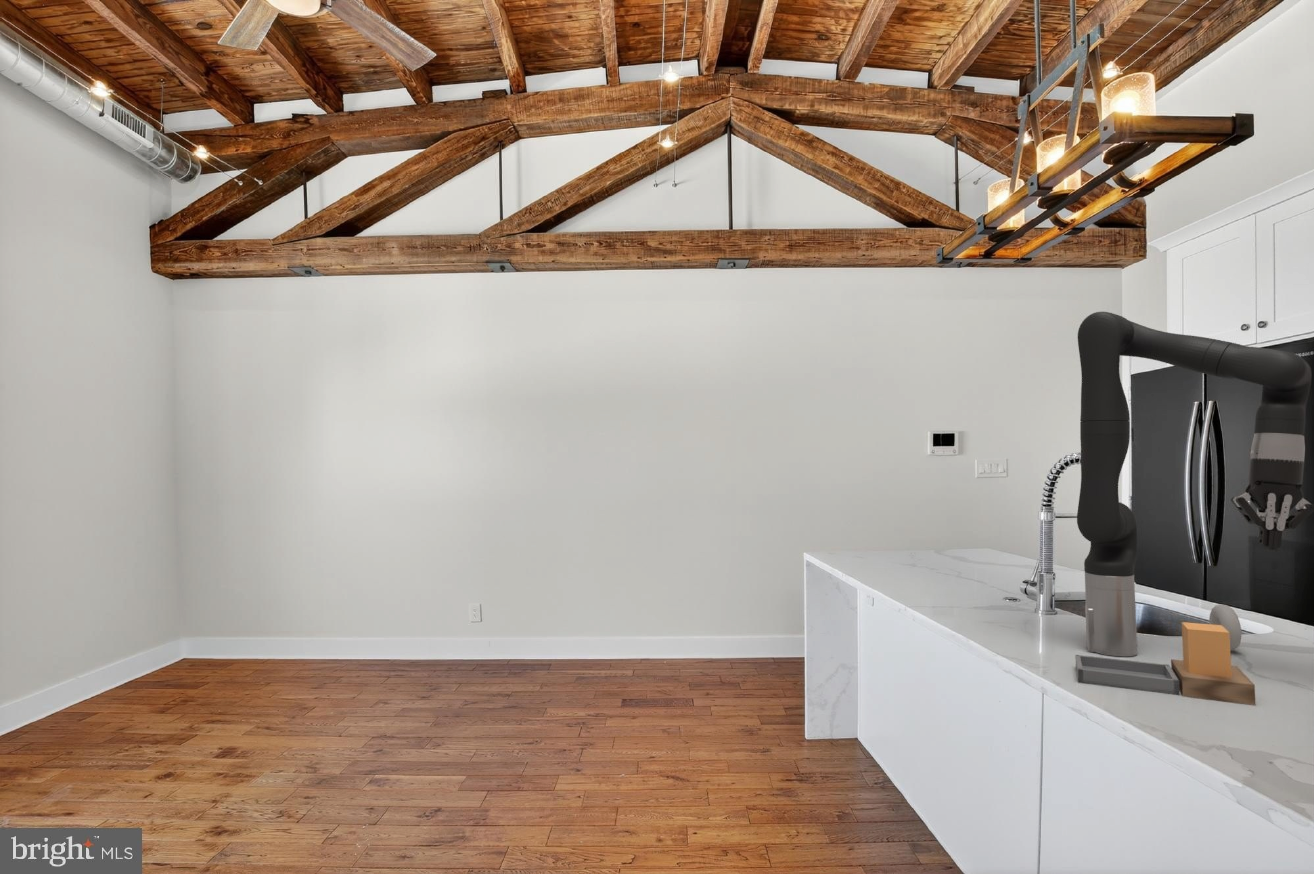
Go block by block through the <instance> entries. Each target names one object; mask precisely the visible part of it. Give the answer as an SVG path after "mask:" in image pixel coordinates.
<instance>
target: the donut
mask: <svg viewBox="0 0 1314 874" xmlns="http://www.w3.org/2000/svg"><path fill="white" fill-rule="evenodd" d="M1208 621H1209V623H1208V624H1211V625H1222V626H1223V627H1224V628H1225V629H1226V630H1227V631H1228V632H1229V633H1230V652H1232V651H1235V650H1236V649H1238V648H1239V647H1240V645H1241V642H1242V627H1241V623H1240V619H1239V616H1238V614H1237V613H1236V612H1235V610H1234V609H1233V608H1232V607H1231V606H1230V605H1227V604H1222V603H1220V604H1219V603H1218V604H1216V605H1214V606H1213V607H1212V608H1211V610H1210V614H1209V620H1208Z"/></svg>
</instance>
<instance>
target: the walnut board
mask: <svg viewBox="0 0 1314 874" xmlns="http://www.w3.org/2000/svg"><path fill="white" fill-rule="evenodd" d="M1170 667H1171V669H1172V670H1173V672H1174V673H1175V675H1176V677H1177V678H1178V680H1179V687H1180V695H1182V697H1185V696H1186V698H1193V699H1201V700H1202V699H1203V700H1210V701H1217V702H1218V701H1219V702H1228V703H1235V704H1243V705H1248V706H1249V705H1251V706H1256V686H1255V685H1256V684H1254V683H1253V682H1252V680H1250V678H1249V677H1248V676H1247V675H1246V674H1245V673H1244V672H1243V670H1241V669H1240V667H1238V665H1231V674H1232V678H1229V677H1220V676H1211V675H1202V674H1193V673H1189V672H1188V670H1187V669H1186V667H1185V666H1184V664H1183V659H1181V660H1180V659H1173V658H1172V659H1170Z"/></svg>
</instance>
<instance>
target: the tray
mask: <svg viewBox="0 0 1314 874" xmlns="http://www.w3.org/2000/svg"><path fill="white" fill-rule="evenodd" d="M1074 658H1075V669H1076V675H1077V681H1078V684H1079V683H1080V684H1090V685H1095V686H1104V687H1111V688H1112V687H1113V688H1119V689H1127V690H1128V689H1129V690H1137V691H1145V692H1152V693H1160V694H1166V695H1167V694H1168V695H1169V694H1171V695H1175V694H1176V695H1177V696H1180V695H1181V692H1180V687H1179V680H1178V678H1177V677H1176V675H1175V673H1174V672H1173V670H1172V669H1171V664H1165V663H1156V662H1146V661H1139V660H1138V661H1136V660H1128V659H1127V660H1126V659H1120V658H1108V657H1103V656H1102V657H1100V656H1099V657H1098V656H1090V655H1089V656H1088V655H1080V654H1075V657H1074Z"/></svg>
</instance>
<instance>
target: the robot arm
mask: <svg viewBox="0 0 1314 874" xmlns="http://www.w3.org/2000/svg"><path fill="white" fill-rule="evenodd" d="M1077 345H1078V352H1079V361H1080V370H1081V371H1080V373H1081V387H1080V390H1081V391H1080V425H1079V426H1080V431H1079V433H1080V437H1079V438H1080V478H1081V479H1080V488H1079V498H1078V505H1077V514H1076V524H1077V528H1078V530H1079V532H1080V534H1081V535H1082V537H1084V539H1085V540H1087V541H1088V542H1090V547H1089V548H1090V549H1089V553H1088V554H1087V556H1086V558H1085V559H1084V562H1083V563H1084V567H1083V568H1084V570H1083V571H1084V589H1085V590H1084V591H1085V604H1084V606H1085V607H1084V610H1085V612H1084V613H1085V633H1086V634H1085V635H1086V647H1087V652H1091V653H1092V652H1093V653H1098V654H1101V655H1106V656H1113V657H1133V656H1137V655H1138V640H1137V638H1138V637H1137V615H1136V613H1137V612H1136V592H1135V591H1136V589H1135V588H1136V587H1135V585H1136V584H1135V565H1136V562H1137V559H1138V529H1137V528H1138V527H1137V520H1136V516H1135V514H1134V513H1133V512H1134V511H1132V509H1131V508H1130V507H1129V506H1127V504H1124V503H1123V502H1119V501H1120V500H1119V499H1120V498H1119V480H1120V476H1121V471H1122V469H1123V465H1124V463H1125V461H1126V457H1127V453H1128V452H1129V451H1128V450H1129V445H1130V439H1131V438H1130V437H1131V435H1130V434H1131V433H1130V432H1131V422H1130V418H1131V417H1130V410H1129V409H1130V408H1129V404H1128V400H1127V397H1126V395H1125V394H1126V393H1125V390H1124V387H1123V384H1122V380H1121V373H1120V362H1121V360H1120V359H1121V357H1135V358H1143V359H1147V360H1151V361H1152V360H1153V361H1158V362H1161V363H1165V364H1169V365H1172V366H1175V367H1177V368H1181V369H1185V370H1188V371H1193V372H1197V373H1201V374H1205V375H1209V376H1213V377H1217V378H1223V379H1228V380H1229V379H1231V380H1232V379H1237V380H1241V381H1245V382H1249V383H1253V384H1256V385H1260V386H1262V391H1261V400H1260V405H1259V406H1258V407H1257V410H1256V412H1255V413H1256V414H1255V421H1254V422H1255V423H1254V435H1253V439H1252V442H1251V447H1250V448H1251V449H1250V450H1251V451H1250V454H1249V456H1250V461H1249V473H1248V485H1247V487H1246V488H1245V490H1244V491H1245V492H1244V493H1242V494H1241V495H1239V496H1232V497H1231V498H1230V501H1231V503H1232V504H1233V505H1234V506H1235V508H1236V509H1237V510H1238V511H1239V513H1240V515H1242V517H1243V518H1244V519H1245V521H1246V522H1247V523H1248V524H1249V525H1253V526H1256V527H1258V529H1259V536H1258V546H1261V549H1263V550H1266V551H1267V550H1268V551H1278V548H1280V547H1281V546H1282V537H1283V531H1285V530H1289V529H1296V528H1297V527H1298V526H1299V525H1300V524H1302V522H1304V521H1305V520H1306V519H1307V518H1308V517H1310V515H1312V514H1313V513H1314V503H1310V502H1309V500H1306V499H1305V498H1304V492H1303V491H1302V485H1303V482H1304V481H1303V480H1304V479H1303V477H1304V467H1305V454H1306V453H1305V452H1306V444H1305V430H1306V407H1307V404H1308V399H1309V395H1310V390H1311V385H1312V368H1311V367H1310V365H1309V363H1308V362H1307V361H1306V360H1305V359H1304V358H1303V357H1302V356H1300V355H1299V354H1296V353H1293V352H1290V351H1286V350H1280V349H1276V348H1267V347H1266V348H1265V347H1257V346H1247V345H1243V344H1240V343H1236V342H1230V341H1225V340H1220V339H1215V338H1210V337H1206V336H1205V337H1203V336H1199V335H1198V336H1197V335H1191V334H1189V335H1188V334H1181V333H1173V332H1167V331H1162V330H1159V329H1158V330H1157V329H1153V328H1151V327H1147V326H1144V325H1141V324H1139V323H1136V322H1134V321H1131V320H1129V319H1127V318H1125V317H1124V316H1122V315H1119V314H1116V313H1113V312H1108V311H1096V312H1093V313H1091V314H1089V315H1088V316H1086V317H1085V318H1084V319H1083V320H1082V322H1081V323H1080V325H1079V328H1078V330H1077ZM1251 504H1253V505H1254V507H1255V508H1256V511H1255V509H1254V508H1253V507H1252V506H1251ZM1293 508H1295V510H1294V511H1292V513H1290V512H1291V510H1292V509H1293Z"/></svg>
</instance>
